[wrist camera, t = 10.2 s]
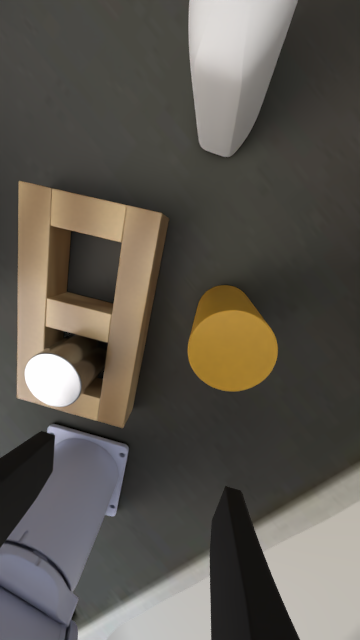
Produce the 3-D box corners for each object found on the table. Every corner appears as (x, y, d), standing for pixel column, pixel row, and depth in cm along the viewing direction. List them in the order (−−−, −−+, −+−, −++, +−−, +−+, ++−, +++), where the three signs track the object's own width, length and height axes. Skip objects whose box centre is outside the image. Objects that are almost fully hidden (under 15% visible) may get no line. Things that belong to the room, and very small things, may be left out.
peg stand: (169, 218, 16) (162, 212, 14) (132, 408, 21) (123, 428, 19) (45, 189, 17) (18, 180, 15) (37, 382, 22) (16, 398, 20)
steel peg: (109, 376, 21) (78, 414, 16) (65, 364, 21) (23, 398, 16) (115, 334, 20) (84, 362, 15) (69, 323, 20) (24, 346, 15)
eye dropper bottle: (172, 114, 15) (39, -350, 3) (246, 27, 13) (474, -1413, 2) (218, 171, 15) (236, -56, 4) (294, 95, 14) (698, -661, 2)
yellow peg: (242, 342, 18) (261, 401, 11) (191, 329, 19) (179, 379, 11) (258, 292, 17) (291, 322, 10) (204, 279, 17) (199, 300, 10)
